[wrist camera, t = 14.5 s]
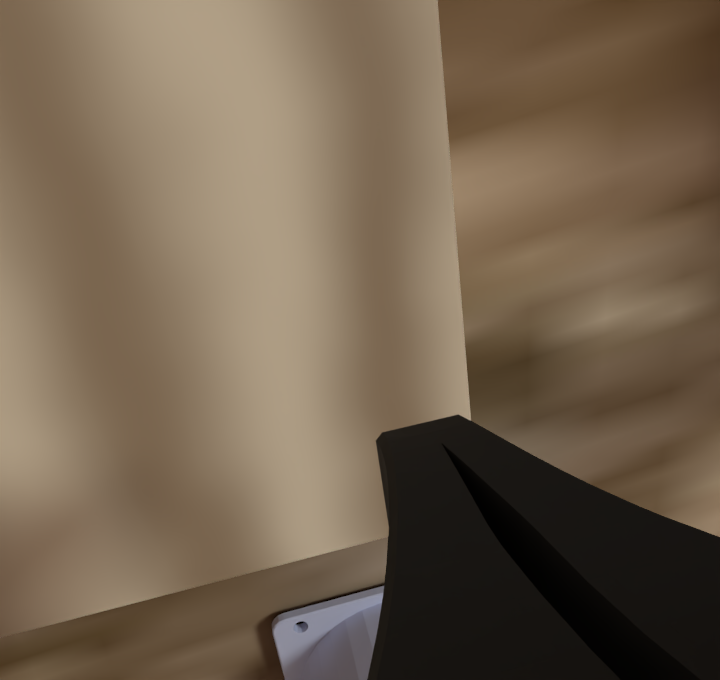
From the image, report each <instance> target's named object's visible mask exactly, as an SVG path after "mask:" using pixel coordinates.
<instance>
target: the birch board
mask: <svg viewBox="0 0 720 680" xmlns="http://www.w3.org/2000/svg"><path fill="white" fill-rule="evenodd" d="M454 415H460V416H462V417H464V418H466V419H468V420H470V421H471V414H470V402H469V389H468V377H467V364H466V352H465V339H464V327H463V314H462V302H461V289H460V277H459V264H458V252H457V239H456V227H455V214H454V202H453V189H452V177H451V164H450V152H449V139H448V127H447V114H446V102H445V89H444V76H443V64H442V51H441V39H440V26H439V14H438V1H437V0H0V638H2V637H6V636H10V635H14V634H17V633H21V632H25V631H29V630H33V629H37V628H40V627H44V626H48V625H52V624H56V623H60V622H63V621H67V620H71V619H75V618H79V617H83V616H87V615H90V614H94V613H98V612H102V611H106V610H110V609H113V608H117V607H121V606H125V605H129V604H133V603H136V602H140V601H144V600H148V599H152V598H156V597H159V596H163V595H167V594H171V593H175V592H179V591H183V590H186V589H190V588H194V587H198V586H202V585H206V584H209V583H213V582H217V581H221V580H225V579H229V578H232V577H236V576H240V575H244V574H248V573H252V572H255V571H259V570H263V569H267V568H271V567H275V566H278V565H282V564H286V563H290V562H294V561H298V560H302V559H305V558H309V557H313V556H317V555H321V554H325V553H328V552H332V551H336V550H340V549H344V548H348V547H351V546H355V545H359V544H363V543H367V542H371V541H374V540H378V539H382V538H386V537H388V535H389V525H388V518H387V512H386V505H385V499H384V492H383V485H382V479H381V472H380V466H379V459H378V453H377V446H376V440H377V438H378V437H379V436H380V434H381V433H382V432H386V431H390V430H394V429H399V428H403V427H407V426H411V425H416V424H420V423H424V422H428V421H433V420H437V419H441V418H445V417H450V416H454Z"/></svg>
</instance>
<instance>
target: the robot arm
mask: <svg viewBox="0 0 720 680" xmlns="http://www.w3.org/2000/svg"><path fill="white" fill-rule="evenodd" d="M376 446H377V453H378V459H379V466H380V472H381V479H382V485H383V492H384V499H385V505H386V512H387V518H388V525H389V535H388V550H387V566H386V575H385V584H384V586H381V587H377V588H374V589H370V590H366V591H363V592H359V593H355V594H351V595H348V596H344V597H340V598H337V599H333V600H329V601H326V602H322V603H318V604H315V605H311V606H307V607H304V608H300V609H296V610H293V611H289V612H285V613H282V614H280V615H278V616H277V617H276V618H274V620H273V622H272V633H273V637H274V641H275V645H276V649H277V652H278V656H279V660H280V664H281V667H282V671H283V675H284V678H285V680H720V537H718V536H715V535H712V534H709V533H707V532H704V531H701V530H699V529H696V528H693V527H691V526H688V525H685V524H683V523H680V522H677V521H675V520H672V519H669V518H666V517H664V516H661V515H659V514H656V513H654V512H651V511H649V510H647V509H644V508H642V507H639V506H637V505H635V504H632V503H630V502H628V501H626V500H623V499H621V498H619V497H617V496H615V495H612V494H610V493H608V492H606V491H604V490H601V489H599V488H597V487H595V486H593V485H590V484H588V483H586V482H584V481H582V480H580V479H578V478H576V477H574V476H572V475H570V474H568V473H566V472H564V471H562V470H560V469H558V468H556V467H554V466H552V465H550V464H548V463H547V462H545V461H543V460H541V459H539V458H537V457H535V456H533V455H532V454H530V453H528V452H526V451H524V450H522V449H520V448H519V447H517V446H515V445H513V444H511V443H510V442H508V441H506V440H504V439H502V438H501V437H499V436H497V435H495V434H494V433H492V432H490V431H488V430H486V429H485V428H483V427H481V426H479V425H478V424H476V423H474V422H472V421H470V420H468V419H466V418H464V417H462V416H460V415H454V416H450V417H445V418H441V419H437V420H433V421H428V422H424V423H420V424H416V425H411V426H407V427H403V428H399V429H394V430H390V431H386V432H382V433H381V434H380V436H379V437H378V438H377V440H376ZM302 621H304V623H302V624H296V623H298V622H302Z"/></svg>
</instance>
